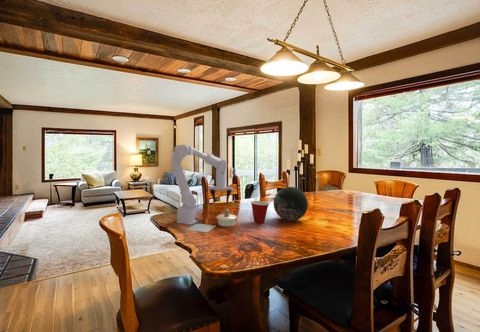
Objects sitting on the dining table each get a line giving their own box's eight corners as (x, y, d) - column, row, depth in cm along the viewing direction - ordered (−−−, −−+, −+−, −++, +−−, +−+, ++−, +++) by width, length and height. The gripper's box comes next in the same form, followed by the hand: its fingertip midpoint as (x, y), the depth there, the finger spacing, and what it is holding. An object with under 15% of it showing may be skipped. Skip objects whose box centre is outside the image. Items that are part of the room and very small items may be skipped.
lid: (213, 219, 142) (213, 210, 142) (221, 214, 153) (221, 206, 152) (232, 221, 139) (232, 212, 138) (239, 216, 149) (239, 208, 149)
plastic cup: (271, 224, 148) (272, 203, 147) (253, 225, 145) (253, 204, 145) (265, 219, 158) (265, 199, 158) (248, 220, 156) (248, 200, 155)
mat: (185, 230, 135) (185, 229, 135) (196, 224, 146) (196, 223, 146) (207, 233, 131) (207, 232, 131) (216, 226, 143) (216, 225, 143)
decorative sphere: (297, 215, 170) (298, 184, 169) (314, 223, 151) (315, 188, 149) (268, 217, 164) (268, 185, 163) (281, 226, 145) (282, 189, 144)
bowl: (216, 226, 143) (216, 218, 143) (222, 222, 152) (222, 215, 152) (231, 227, 140) (231, 220, 140) (237, 223, 149) (237, 216, 149)
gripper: (207, 180, 154) (207, 203, 155) (232, 180, 153) (232, 204, 154) (209, 179, 161) (209, 201, 162) (233, 179, 160) (233, 201, 161)
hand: (220, 202), depth 158 cm, fingers open, 7 cm apart
